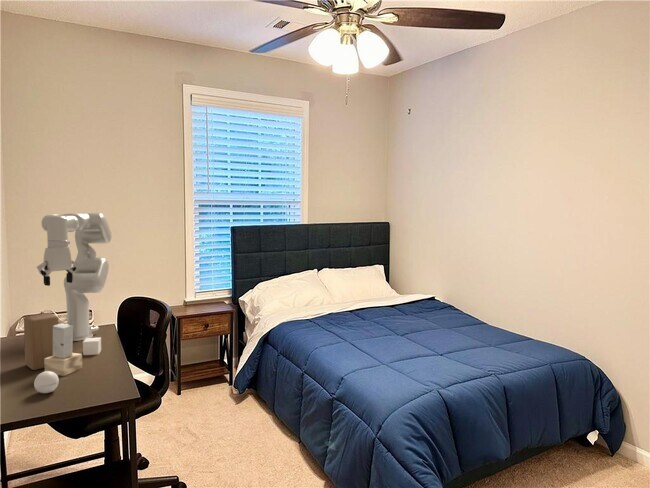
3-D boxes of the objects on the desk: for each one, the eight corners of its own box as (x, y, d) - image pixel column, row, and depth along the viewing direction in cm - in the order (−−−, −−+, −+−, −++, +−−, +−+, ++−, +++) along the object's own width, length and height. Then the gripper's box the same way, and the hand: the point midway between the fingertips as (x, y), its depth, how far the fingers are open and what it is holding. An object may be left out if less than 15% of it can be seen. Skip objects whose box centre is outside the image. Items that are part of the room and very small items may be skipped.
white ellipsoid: (32, 398, 152) (31, 376, 151) (36, 390, 158) (35, 369, 158) (66, 394, 156) (66, 372, 155) (69, 386, 162) (68, 366, 162)
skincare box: (52, 356, 176) (51, 325, 175) (62, 352, 180) (61, 322, 179) (63, 359, 174) (62, 328, 172) (73, 355, 178) (73, 325, 177)
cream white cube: (98, 354, 198) (98, 341, 198) (83, 355, 197) (82, 341, 196) (101, 350, 204) (101, 337, 204) (86, 351, 203) (86, 338, 202)
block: (24, 365, 183) (23, 315, 182) (52, 359, 191) (51, 312, 189) (31, 371, 176) (30, 320, 175) (60, 365, 184) (59, 316, 182)
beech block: (63, 366, 183) (63, 351, 183) (82, 368, 181) (82, 353, 181) (44, 373, 175) (44, 358, 174) (64, 376, 172) (63, 360, 172)
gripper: (71, 243, 206) (72, 280, 207) (31, 245, 191) (32, 285, 192) (82, 243, 202) (82, 282, 203) (42, 246, 187) (43, 287, 188)
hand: (58, 283), depth 198 cm, fingers open, 9 cm apart
